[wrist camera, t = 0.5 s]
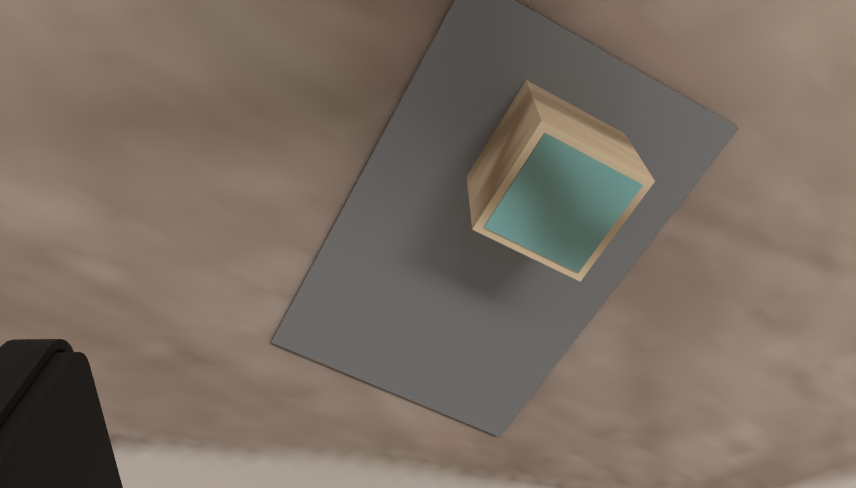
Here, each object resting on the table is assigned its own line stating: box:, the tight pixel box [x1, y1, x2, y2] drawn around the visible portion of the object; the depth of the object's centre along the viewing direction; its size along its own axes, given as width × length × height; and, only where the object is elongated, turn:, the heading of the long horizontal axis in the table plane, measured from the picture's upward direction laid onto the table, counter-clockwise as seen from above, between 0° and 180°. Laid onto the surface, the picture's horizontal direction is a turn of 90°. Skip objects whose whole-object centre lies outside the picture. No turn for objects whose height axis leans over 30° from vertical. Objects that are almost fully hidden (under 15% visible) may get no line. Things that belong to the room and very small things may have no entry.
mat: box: [271, 0, 738, 437], centre depth 43 cm, size 24×16×1 cm, turn 152°
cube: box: [467, 80, 655, 282], centre depth 37 cm, size 6×6×6 cm
